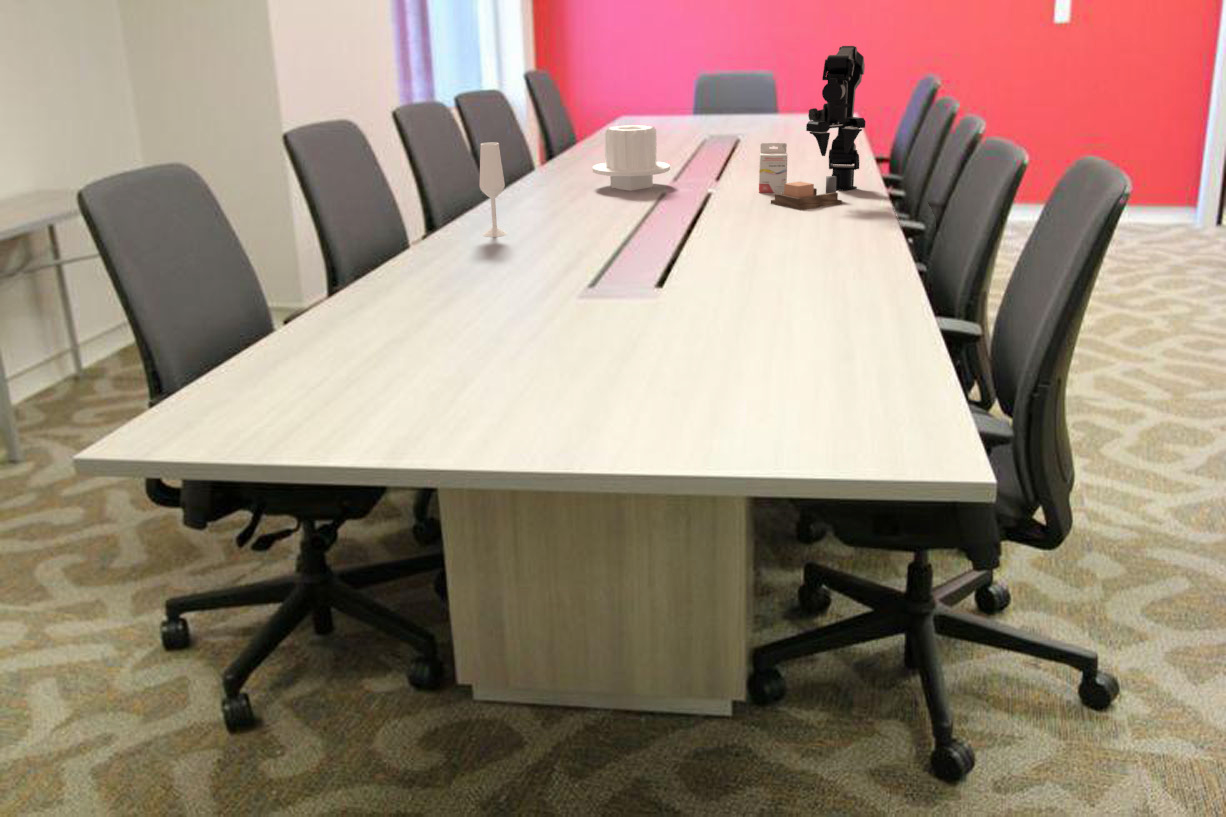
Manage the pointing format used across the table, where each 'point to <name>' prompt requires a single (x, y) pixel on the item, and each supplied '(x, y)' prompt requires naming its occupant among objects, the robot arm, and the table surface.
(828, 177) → the tethered block
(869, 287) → the table surface
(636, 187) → the flanged gear
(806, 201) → the wooden tray
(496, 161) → the champagne flute
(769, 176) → the ink cartridge box
